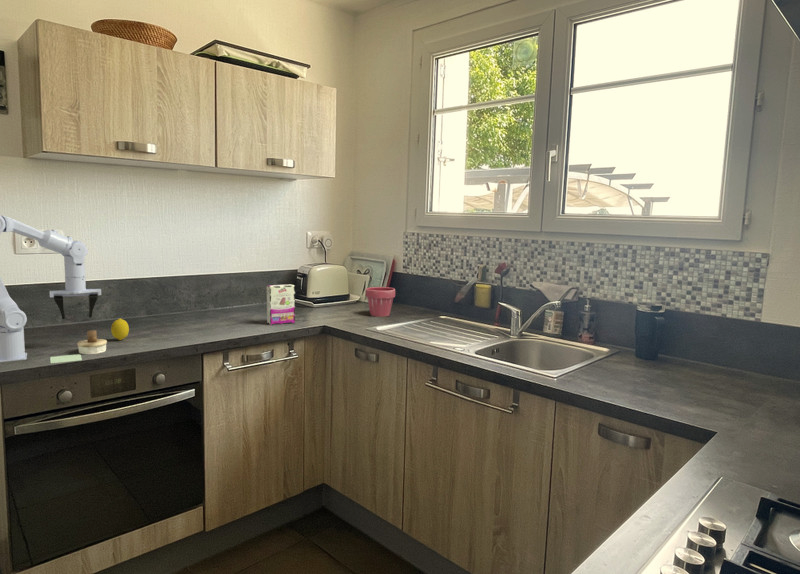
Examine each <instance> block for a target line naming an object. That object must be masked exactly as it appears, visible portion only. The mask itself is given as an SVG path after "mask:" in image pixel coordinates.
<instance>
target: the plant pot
mask: <svg viewBox="0 0 800 574" xmlns="http://www.w3.org/2000/svg"><path fill="white" fill-rule="evenodd" d="M365 297H366V299H367V304H368V308H369V314H370V316H371V317H379V318H384V317H388V316H391V315H390V314H391V310H392V306H393V301H394V298H396V289H395V288H394V287H388V286H387V287H385V286H373V287H367V288H365Z"/></svg>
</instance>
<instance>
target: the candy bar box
mask: <svg viewBox="0 0 800 574" xmlns="http://www.w3.org/2000/svg"><path fill="white" fill-rule="evenodd" d="M266 323H267V324H268V323H269V324H268V325H270V326H273V325H272V324H276V325H284V324H283V323H287V324H295V323H296V285H294V284H293V283H292V284H274V285H272V284H271V285H266Z"/></svg>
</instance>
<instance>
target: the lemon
mask: <svg viewBox="0 0 800 574" xmlns="http://www.w3.org/2000/svg"><path fill="white" fill-rule="evenodd" d="M110 331H111V335H112V337H113V338H115V339H116V340H118V341H122V340H123V339H125V338H127V336H128V335H129V331H130V328H129V324H128V322H127V321H126V320H125V319H122V318H118V319H116V320H114V321H113V322H112V324H111V329H110Z"/></svg>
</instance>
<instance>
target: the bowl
mask: <svg viewBox="0 0 800 574" xmlns="http://www.w3.org/2000/svg"><path fill="white" fill-rule="evenodd" d="M106 351H107V344H105V345H102V346H97V347H79V346H78V354H81V355H96V354H101V353H105V352H106Z"/></svg>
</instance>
